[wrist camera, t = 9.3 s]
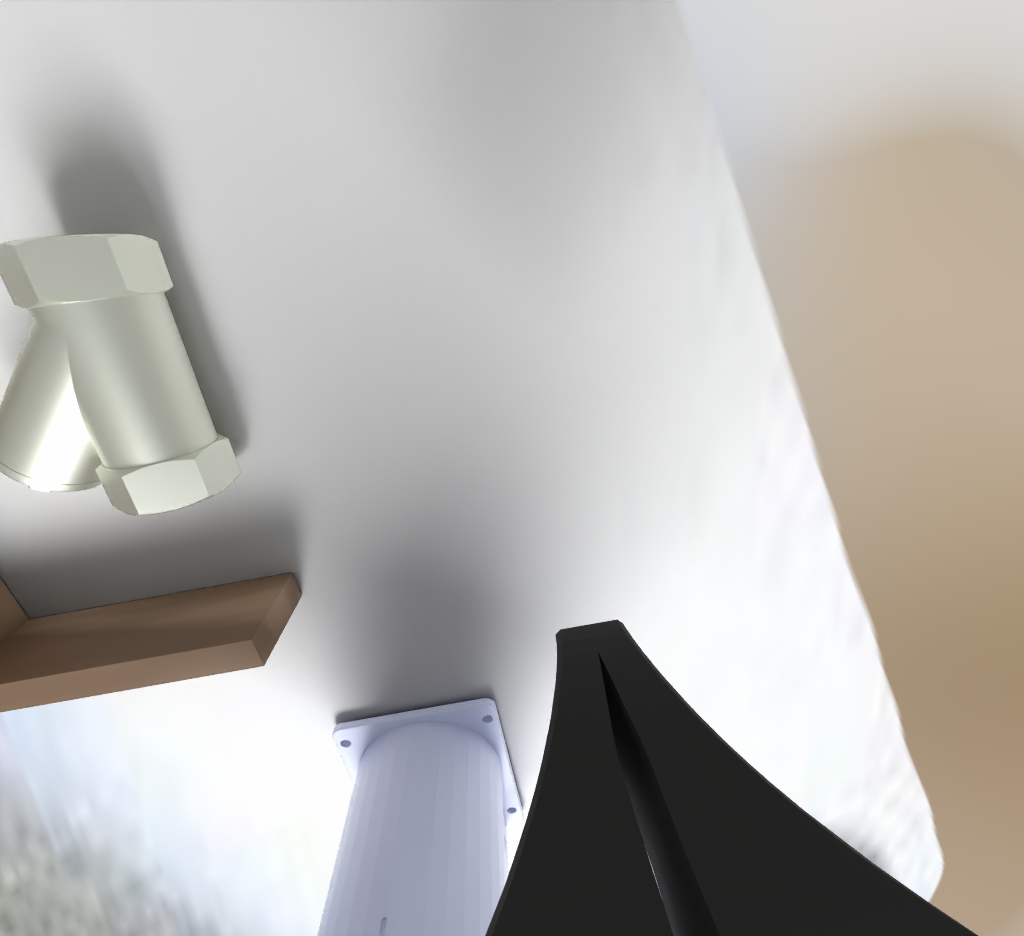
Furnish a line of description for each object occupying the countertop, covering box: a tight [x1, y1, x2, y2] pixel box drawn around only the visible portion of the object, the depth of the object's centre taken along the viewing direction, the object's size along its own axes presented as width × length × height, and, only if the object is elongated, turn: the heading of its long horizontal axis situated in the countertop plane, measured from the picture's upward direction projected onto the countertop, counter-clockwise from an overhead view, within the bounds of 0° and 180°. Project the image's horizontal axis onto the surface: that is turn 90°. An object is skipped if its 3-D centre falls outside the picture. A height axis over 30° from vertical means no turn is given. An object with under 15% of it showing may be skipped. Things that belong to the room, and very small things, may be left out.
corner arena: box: [0, 573, 302, 712], centre depth 16 cm, size 16×13×4 cm
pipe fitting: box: [0, 234, 241, 515], centre depth 16 cm, size 8×4×7 cm
